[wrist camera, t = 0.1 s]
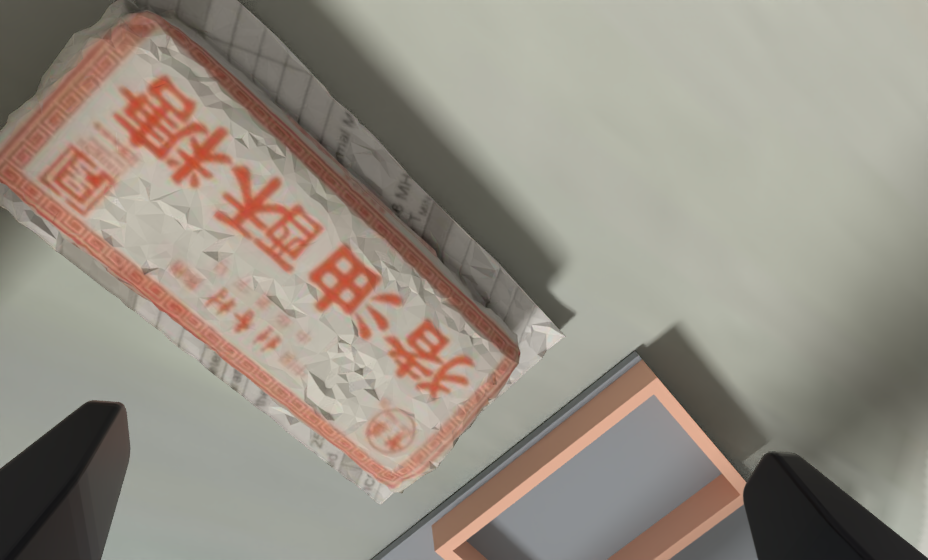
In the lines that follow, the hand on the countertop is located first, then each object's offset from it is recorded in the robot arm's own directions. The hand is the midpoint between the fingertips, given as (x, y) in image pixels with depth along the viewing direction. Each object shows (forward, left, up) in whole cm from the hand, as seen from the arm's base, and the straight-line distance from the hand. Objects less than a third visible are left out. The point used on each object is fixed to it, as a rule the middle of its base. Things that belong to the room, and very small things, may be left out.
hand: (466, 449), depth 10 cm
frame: (-3, -15, -15) cm, 21 cm away
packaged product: (-4, +1, -16) cm, 17 cm away
